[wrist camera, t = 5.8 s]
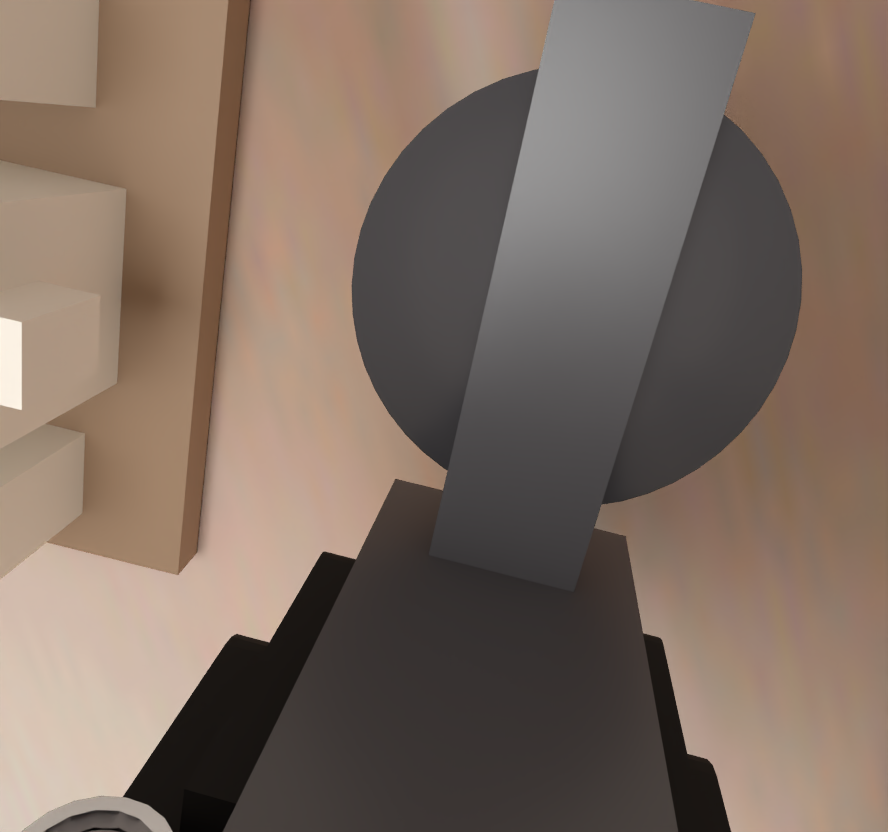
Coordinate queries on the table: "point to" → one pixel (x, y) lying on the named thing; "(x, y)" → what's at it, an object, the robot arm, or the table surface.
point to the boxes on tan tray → (112, 268)
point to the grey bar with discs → (538, 432)
